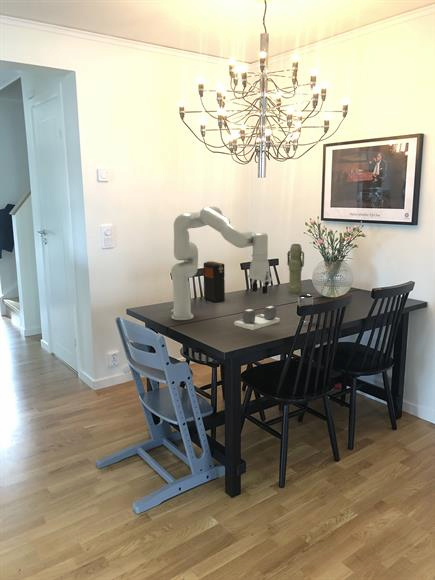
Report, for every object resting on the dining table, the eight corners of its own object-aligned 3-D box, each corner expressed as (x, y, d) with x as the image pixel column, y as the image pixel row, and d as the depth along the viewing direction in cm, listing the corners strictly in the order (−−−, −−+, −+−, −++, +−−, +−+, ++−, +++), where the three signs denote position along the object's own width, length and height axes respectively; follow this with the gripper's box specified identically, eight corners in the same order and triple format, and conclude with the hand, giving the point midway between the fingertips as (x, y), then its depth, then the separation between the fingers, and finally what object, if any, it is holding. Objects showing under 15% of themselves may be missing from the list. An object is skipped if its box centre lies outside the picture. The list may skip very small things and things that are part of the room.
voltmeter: (226, 301, 304) (226, 263, 299) (215, 303, 299) (215, 264, 294) (213, 297, 317) (212, 260, 311) (202, 298, 312) (201, 261, 307)
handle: (264, 318, 252) (264, 307, 251) (270, 316, 256) (270, 305, 254) (269, 319, 249) (269, 308, 248) (275, 317, 253) (275, 306, 252)
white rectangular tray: (234, 325, 249) (234, 321, 248) (261, 317, 263) (261, 313, 263) (252, 330, 239) (252, 326, 239) (279, 322, 254) (279, 318, 253)
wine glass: (314, 324, 249) (315, 297, 246) (301, 325, 246) (302, 298, 243) (308, 320, 256) (308, 294, 253) (294, 321, 254) (295, 295, 251)
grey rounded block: (243, 321, 246) (243, 310, 245) (249, 319, 249) (249, 308, 248) (248, 323, 243) (248, 311, 242) (255, 321, 247) (255, 309, 245)
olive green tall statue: (288, 292, 328) (289, 243, 320) (305, 294, 322) (306, 243, 315) (284, 295, 320) (285, 244, 313) (300, 296, 314) (302, 245, 307)
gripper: (242, 256, 238) (242, 291, 241) (268, 260, 225) (267, 296, 229) (252, 255, 243) (252, 288, 246) (278, 258, 230) (277, 293, 234)
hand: (259, 292), depth 237 cm, fingers open, 6 cm apart
